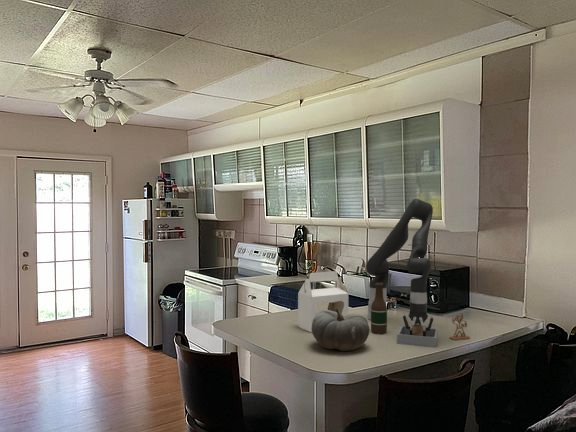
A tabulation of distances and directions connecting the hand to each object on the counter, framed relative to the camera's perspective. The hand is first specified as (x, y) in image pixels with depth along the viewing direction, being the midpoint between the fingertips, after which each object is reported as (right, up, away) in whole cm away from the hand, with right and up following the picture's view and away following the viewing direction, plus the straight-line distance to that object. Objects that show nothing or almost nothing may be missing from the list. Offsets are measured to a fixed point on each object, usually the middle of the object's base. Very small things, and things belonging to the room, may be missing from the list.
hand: (417, 338), depth 225 cm
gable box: (-42, 0, +23) cm, 48 cm away
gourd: (-37, -1, -11) cm, 38 cm away
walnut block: (0, -1, 0) cm, 1 cm away
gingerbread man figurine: (+20, -1, +4) cm, 21 cm away
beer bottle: (-15, -1, +14) cm, 21 cm away
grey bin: (0, -1, 0) cm, 1 cm away
